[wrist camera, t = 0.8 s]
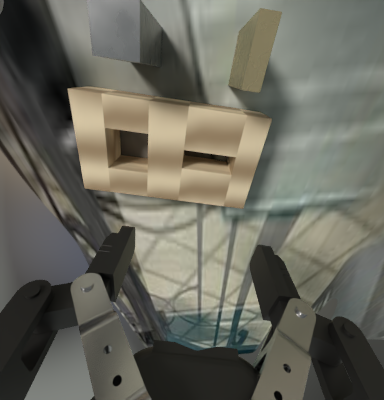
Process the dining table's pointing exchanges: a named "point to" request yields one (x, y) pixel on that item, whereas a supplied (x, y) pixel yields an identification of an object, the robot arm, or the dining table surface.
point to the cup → (1, 5)
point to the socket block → (167, 146)
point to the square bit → (124, 31)
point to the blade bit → (254, 50)
